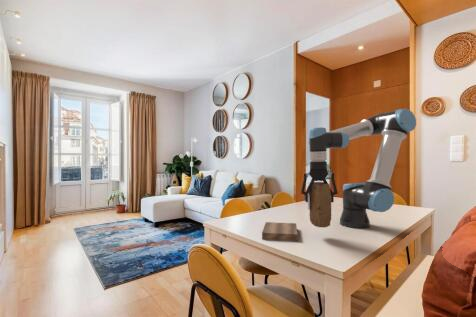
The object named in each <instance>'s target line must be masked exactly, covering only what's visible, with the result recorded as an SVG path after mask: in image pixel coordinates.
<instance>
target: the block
mask: <svg viewBox="0 0 476 317" xmlns="http://www.w3.org/2000/svg"><path fill="white" fill-rule="evenodd" d="M330 188H331V186H330V183H328V182H327V183H324V182H323V181H314V183H313V185H312V187H311V189H310V191H309V193H308V195H309V196H310V210H309V221H310V223H311V224H312V225H313V226H314V227H317V228H328V227H330V226H331V221H332V202H331V193H330Z"/></svg>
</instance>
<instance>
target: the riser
mask: <svg viewBox="0 0 476 317" xmlns="http://www.w3.org/2000/svg"><path fill="white" fill-rule="evenodd" d="M297 227H298V226H297V223H294V222H275V221H274V222H270V221H266V222H265V224H264V226H263V229H262V231H261V240H270V241H271V240H274V241H291V242H298V229H297Z"/></svg>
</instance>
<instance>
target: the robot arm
mask: <svg viewBox="0 0 476 317" xmlns="http://www.w3.org/2000/svg"><path fill="white" fill-rule="evenodd" d="M416 126H417V118H416V116H415V114H414V112H413V111H412V110H409V109H408V108H402V109H401V108H399V109H396V110H391V111H387V112H381V113H378V114H376V115H373V116H371V117H367V118H365V119H362V120H361V121H360V122H357V123H354V124H350V125H348V126H344V127H339V128H337V129H333V130H330V131H327V129H326V127H324V126H323V127H312V128H310V130H309V135H308V144H309V161H310V162H309V172H304V173H302V174H303V181H302V185H301V189H300V193H301V195H304V201H305V203H307V210H308V211H310V196H309V195H308V193H309V191H310V189H311V187H312V185H313V183H314V182H324V183H328V181H327V179H326V178H327V176H328V177H329V179H330V182H331V185H332V189H333V191H332V189H331V187H330V193H331V203H334V202H335V201H334V200H335V199H334V196H335V195H338V194H339V192H338V189H337V185H336V181H335V173H334V172H328V164H327V163H328V162H327V149H344V148H345V149H346V147H348V146H349V144H350V141H351V140H354V139H357V138H361V137H363V136H365V137H370V136H373V135H382V139H381V143H380V147H379V149H378V153H377V156H376V160H375V163H374V166H373V169H372V171H371V172H372V173H371V176H370V178H369V179H367V180H366V181H365V182H358V183H357V182H355V183H344V184H343V186H342V212H341V214H340V218H339V224H340V225H342V226H344V227H347V228H354V229H366V228H367V229H368V228H369V227H370V226H371V224H370V223H371V222H370V219H369V216H368V213H367V210H370V211H372V212H379V213H384V212H386V211H387V212H388V211H389V210H390V209H391V208H392V207H393V205H394V203H395V195H394V193H393V191H392V185H391V184H390V182H391V179H392V175H393V172H394V169H395V165H396V162H397V159H398V155H399V153H400V149H401V148H400V147H401V145H402V142H403V140H405V139H407V138H408V134H409V132H412V131H414V130H415V129H416ZM309 176H310V177H311V178H310V179H311V180H310V182H309V184H308V186H307V188H306V184H307V179H308V177H309ZM305 188H306V189H305Z"/></svg>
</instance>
